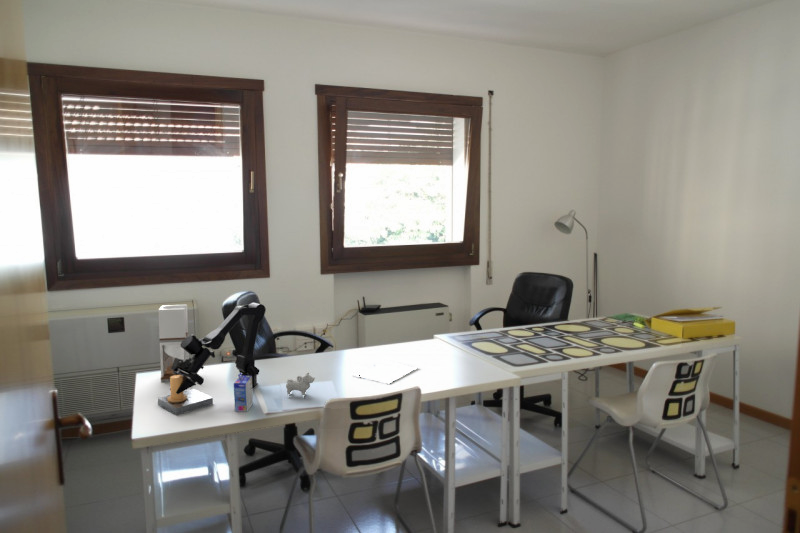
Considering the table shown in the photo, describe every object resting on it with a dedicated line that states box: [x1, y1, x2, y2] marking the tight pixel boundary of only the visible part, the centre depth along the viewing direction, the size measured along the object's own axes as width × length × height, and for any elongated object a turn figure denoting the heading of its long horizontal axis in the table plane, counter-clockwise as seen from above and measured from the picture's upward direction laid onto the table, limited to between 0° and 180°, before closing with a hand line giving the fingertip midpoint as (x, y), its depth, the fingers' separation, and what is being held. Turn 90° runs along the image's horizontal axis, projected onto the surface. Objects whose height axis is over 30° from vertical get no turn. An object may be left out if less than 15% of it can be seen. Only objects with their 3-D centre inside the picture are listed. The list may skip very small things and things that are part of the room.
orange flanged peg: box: [167, 375, 187, 404], centre depth 218 cm, size 8×8×13 cm
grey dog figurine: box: [285, 372, 316, 396], centre depth 233 cm, size 5×13×11 cm, turn 89°
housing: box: [157, 388, 214, 416], centre depth 221 cm, size 16×16×3 cm
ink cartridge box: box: [233, 372, 254, 412], centre depth 219 cm, size 10×6×14 cm, turn 2°
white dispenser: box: [158, 304, 190, 383], centre depth 253 cm, size 11×11×35 cm
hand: (173, 391), depth 217 cm, fingers closed on orange flanged peg, 5 cm apart
